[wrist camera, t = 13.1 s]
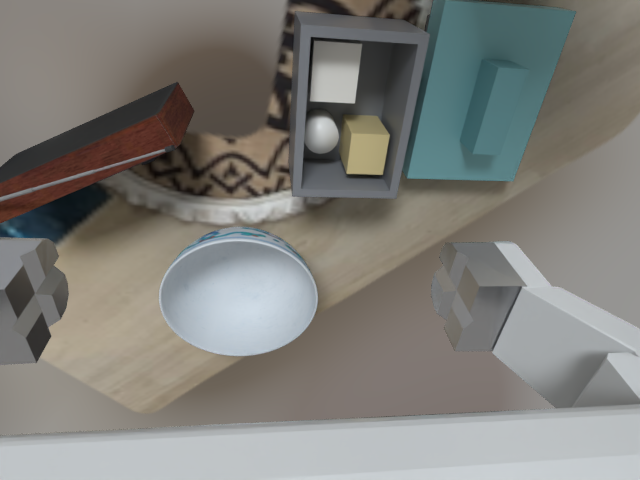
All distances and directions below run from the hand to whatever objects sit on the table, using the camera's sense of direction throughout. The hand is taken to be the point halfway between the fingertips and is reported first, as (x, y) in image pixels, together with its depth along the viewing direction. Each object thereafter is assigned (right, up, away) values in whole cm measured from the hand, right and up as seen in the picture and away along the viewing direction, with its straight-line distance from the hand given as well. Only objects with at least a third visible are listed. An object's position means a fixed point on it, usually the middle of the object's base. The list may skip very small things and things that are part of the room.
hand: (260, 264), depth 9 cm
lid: (+15, +14, +30) cm, 36 cm away
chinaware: (-7, -1, +38) cm, 39 cm away
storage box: (+3, +13, +29) cm, 32 cm away
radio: (-17, +10, +29) cm, 35 cm away
